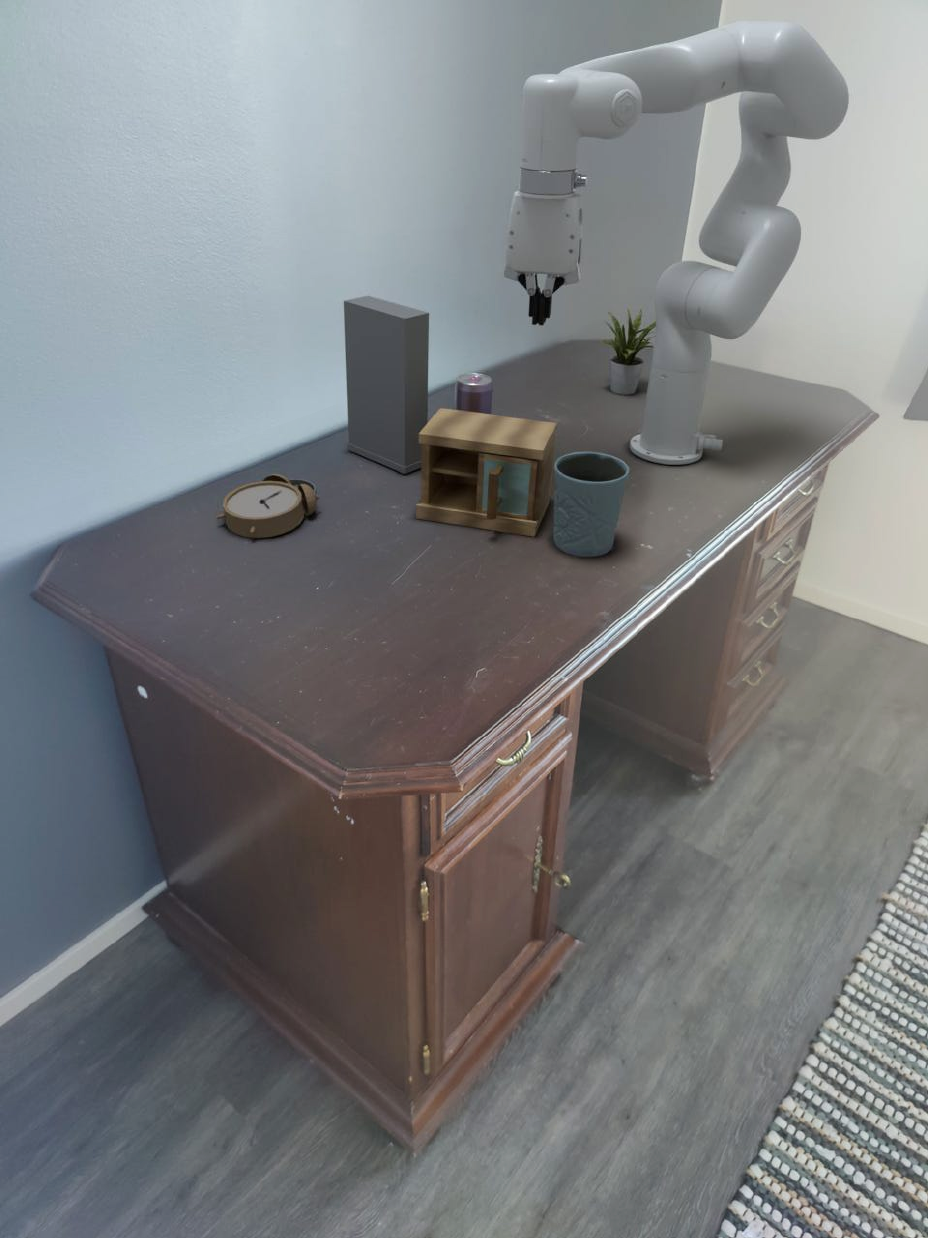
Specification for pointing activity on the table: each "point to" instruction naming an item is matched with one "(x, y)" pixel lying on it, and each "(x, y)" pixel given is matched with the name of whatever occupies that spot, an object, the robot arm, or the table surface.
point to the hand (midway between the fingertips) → (539, 322)
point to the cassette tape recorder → (386, 380)
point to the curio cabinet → (455, 466)
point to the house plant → (627, 355)
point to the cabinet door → (506, 486)
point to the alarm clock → (269, 506)
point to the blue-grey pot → (587, 502)
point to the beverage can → (473, 393)
